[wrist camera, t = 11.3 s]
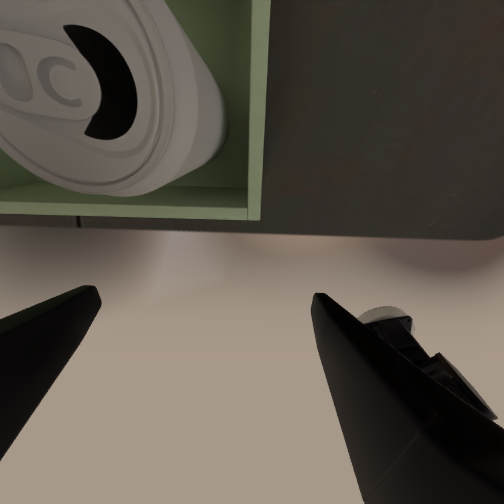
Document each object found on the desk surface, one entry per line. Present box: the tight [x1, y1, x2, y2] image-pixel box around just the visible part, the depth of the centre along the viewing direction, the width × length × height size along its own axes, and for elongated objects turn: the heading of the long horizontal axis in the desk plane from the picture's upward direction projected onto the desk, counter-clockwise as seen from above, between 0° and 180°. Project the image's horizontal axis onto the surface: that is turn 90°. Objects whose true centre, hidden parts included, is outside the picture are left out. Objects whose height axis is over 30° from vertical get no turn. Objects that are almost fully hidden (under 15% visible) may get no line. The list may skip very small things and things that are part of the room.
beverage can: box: [0, 0, 230, 197], centre depth 11 cm, size 6×6×12 cm
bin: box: [0, 0, 271, 220], centre depth 13 cm, size 20×14×7 cm
